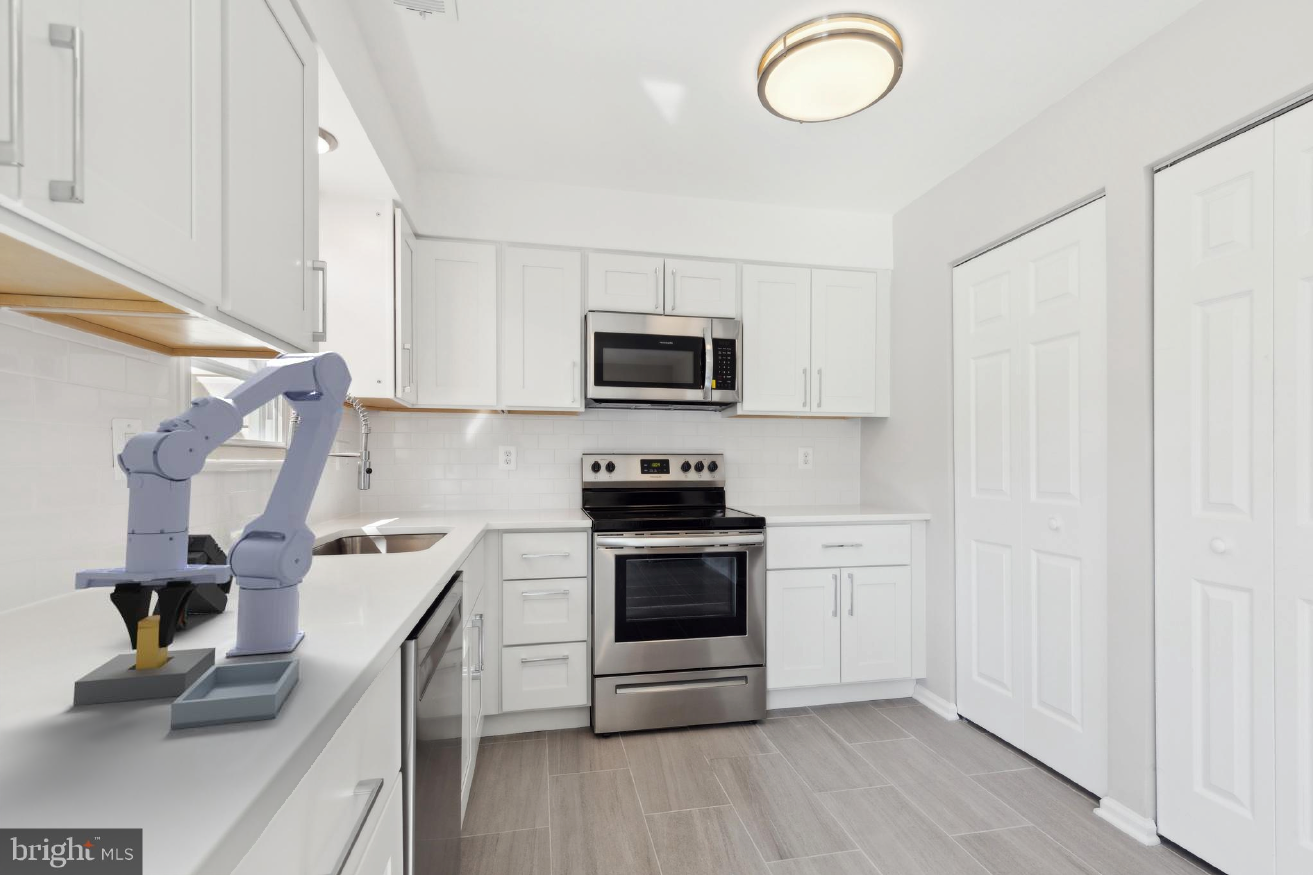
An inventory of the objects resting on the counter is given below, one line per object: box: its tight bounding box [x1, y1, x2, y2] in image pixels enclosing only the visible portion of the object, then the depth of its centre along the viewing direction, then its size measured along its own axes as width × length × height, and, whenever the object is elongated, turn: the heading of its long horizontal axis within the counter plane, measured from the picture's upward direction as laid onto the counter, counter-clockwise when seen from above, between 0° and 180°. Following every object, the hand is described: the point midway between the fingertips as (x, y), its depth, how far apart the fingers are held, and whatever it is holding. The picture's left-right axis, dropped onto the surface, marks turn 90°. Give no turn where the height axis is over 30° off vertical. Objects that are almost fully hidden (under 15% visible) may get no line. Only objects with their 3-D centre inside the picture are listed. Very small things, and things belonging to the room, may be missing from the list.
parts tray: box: [169, 658, 300, 730], centre depth 68 cm, size 12×9×2 cm
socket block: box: [72, 647, 216, 707], centre depth 72 cm, size 10×10×2 cm
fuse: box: [135, 615, 169, 670], centre depth 72 cm, size 3×2×7 cm, turn 20°
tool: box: [151, 533, 234, 632], centre depth 102 cm, size 6×19×15 cm
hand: (152, 646), depth 72 cm, fingers closed on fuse, 2 cm apart
